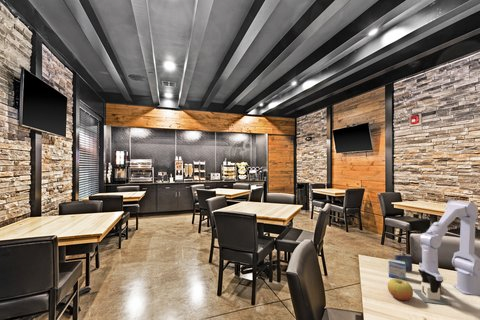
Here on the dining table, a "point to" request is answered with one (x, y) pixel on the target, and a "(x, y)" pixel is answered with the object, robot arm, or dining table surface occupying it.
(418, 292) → the slate pad
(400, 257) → the flask
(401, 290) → the apple
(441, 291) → the walnut screen
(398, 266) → the medicine box
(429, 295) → the letter cube
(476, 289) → the robot arm
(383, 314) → the dining table surface
